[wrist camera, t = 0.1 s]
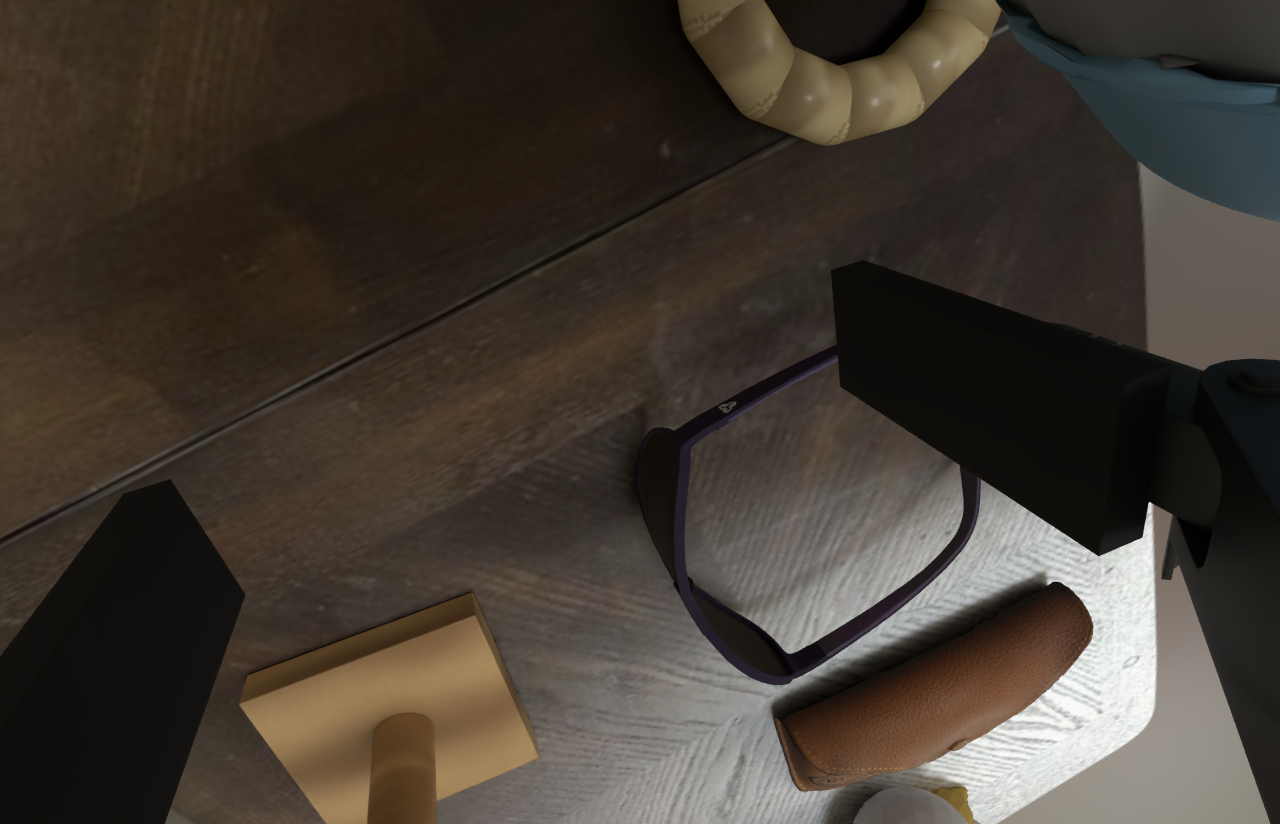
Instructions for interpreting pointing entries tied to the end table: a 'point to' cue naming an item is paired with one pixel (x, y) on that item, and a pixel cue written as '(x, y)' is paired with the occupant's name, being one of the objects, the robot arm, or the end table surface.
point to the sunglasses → (728, 631)
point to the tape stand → (394, 716)
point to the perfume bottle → (916, 807)
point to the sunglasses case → (938, 695)
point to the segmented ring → (834, 67)
